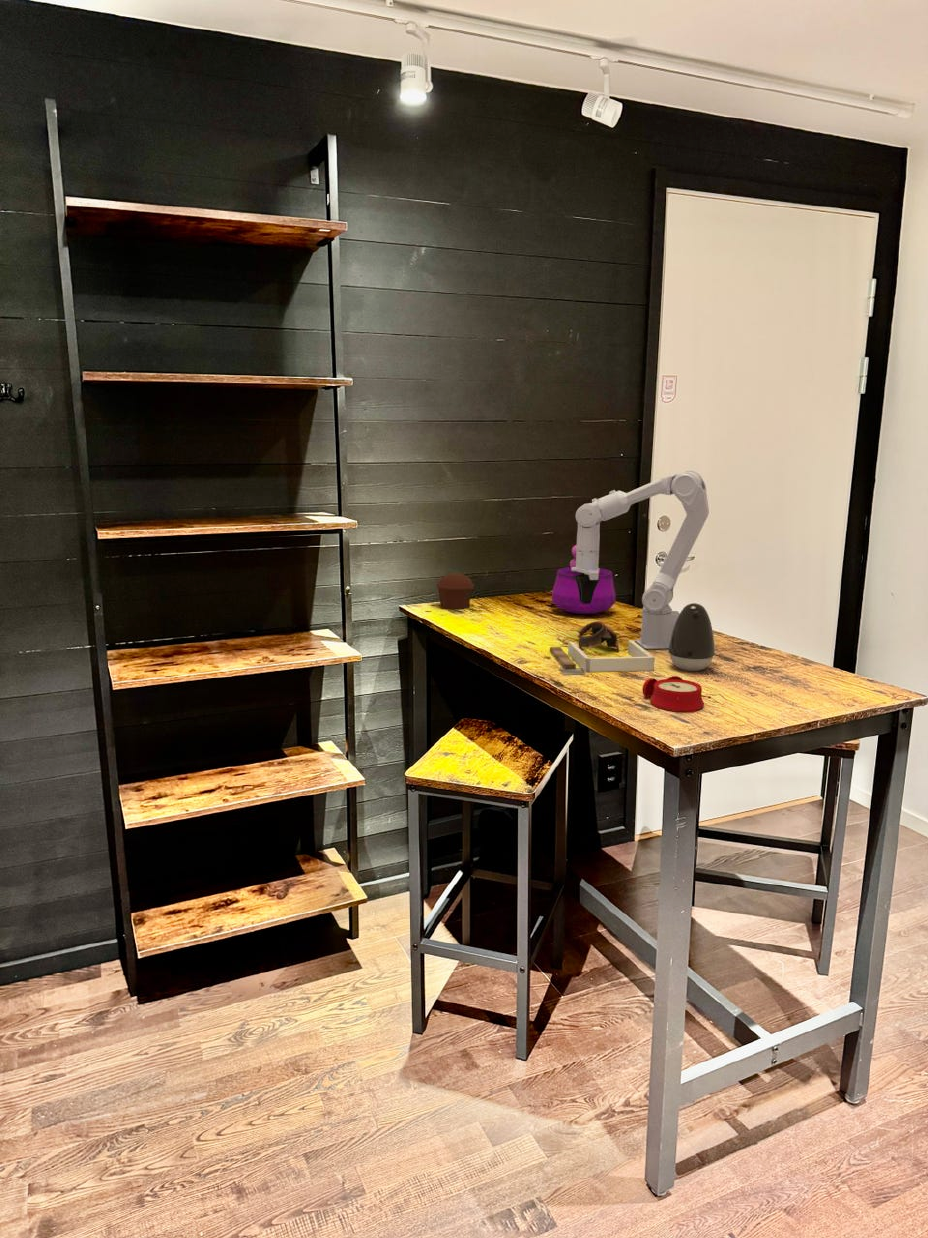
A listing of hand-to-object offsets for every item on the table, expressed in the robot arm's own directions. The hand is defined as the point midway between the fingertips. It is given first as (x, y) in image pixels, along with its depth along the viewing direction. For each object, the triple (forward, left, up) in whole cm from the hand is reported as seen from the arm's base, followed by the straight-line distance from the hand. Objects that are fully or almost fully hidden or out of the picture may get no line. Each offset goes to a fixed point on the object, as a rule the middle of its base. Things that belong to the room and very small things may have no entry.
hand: (585, 602), depth 220 cm
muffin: (+29, -42, -10) cm, 52 cm away
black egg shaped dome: (-17, +30, -10) cm, 36 cm away
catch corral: (0, +23, -9) cm, 25 cm away
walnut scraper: (+11, +23, -10) cm, 27 cm away
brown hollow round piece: (-1, +11, -10) cm, 15 cm away
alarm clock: (-4, +53, -10) cm, 54 cm away
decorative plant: (-8, -31, -10) cm, 33 cm away
